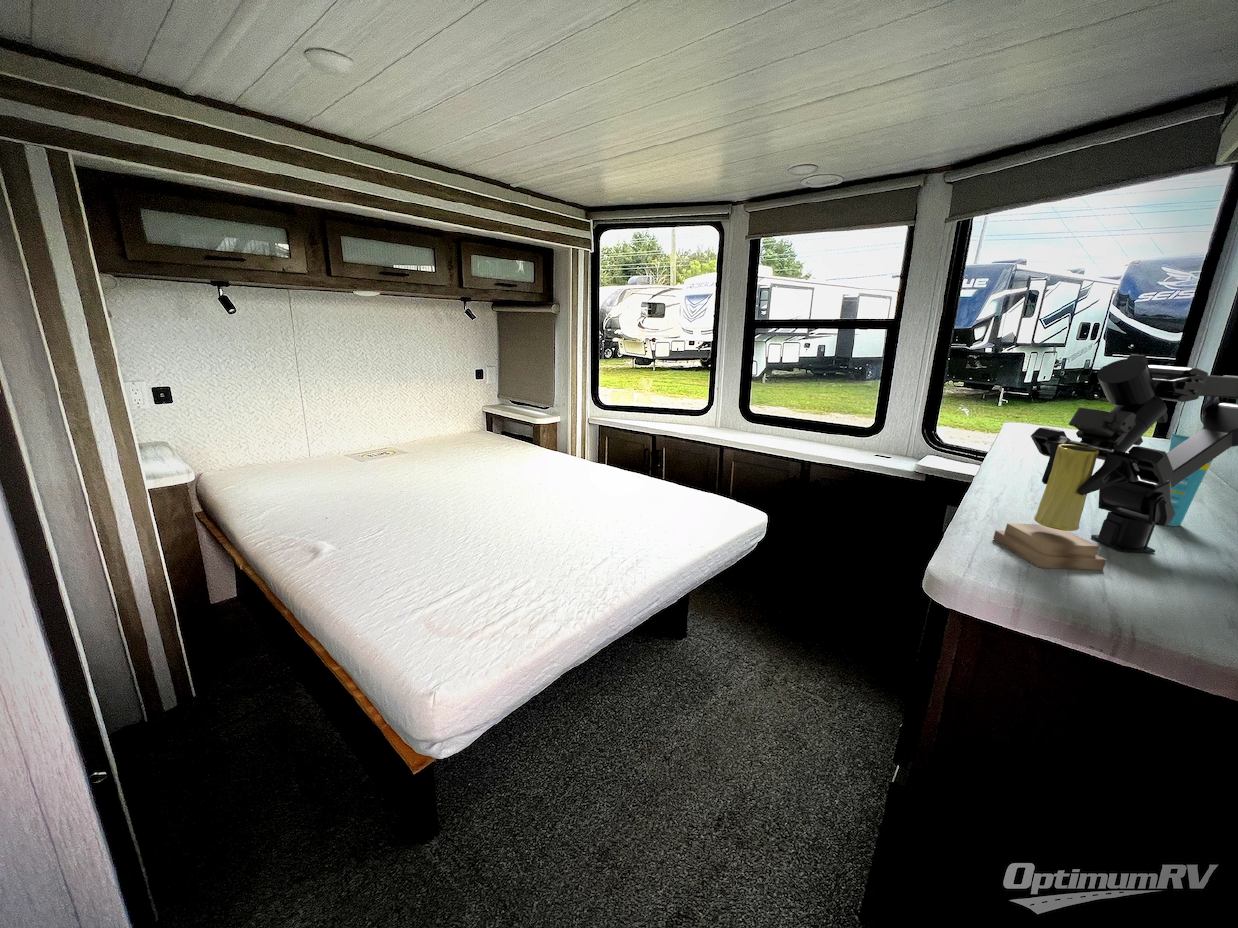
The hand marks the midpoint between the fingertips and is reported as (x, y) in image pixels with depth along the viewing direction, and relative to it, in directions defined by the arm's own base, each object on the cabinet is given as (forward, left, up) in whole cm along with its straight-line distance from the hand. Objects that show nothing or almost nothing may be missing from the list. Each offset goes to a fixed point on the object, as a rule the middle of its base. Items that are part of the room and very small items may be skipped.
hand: (1060, 487), depth 84 cm
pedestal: (-1, -1, -13) cm, 13 cm away
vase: (-1, 0, -7) cm, 7 cm away
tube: (-42, -19, -13) cm, 48 cm away
